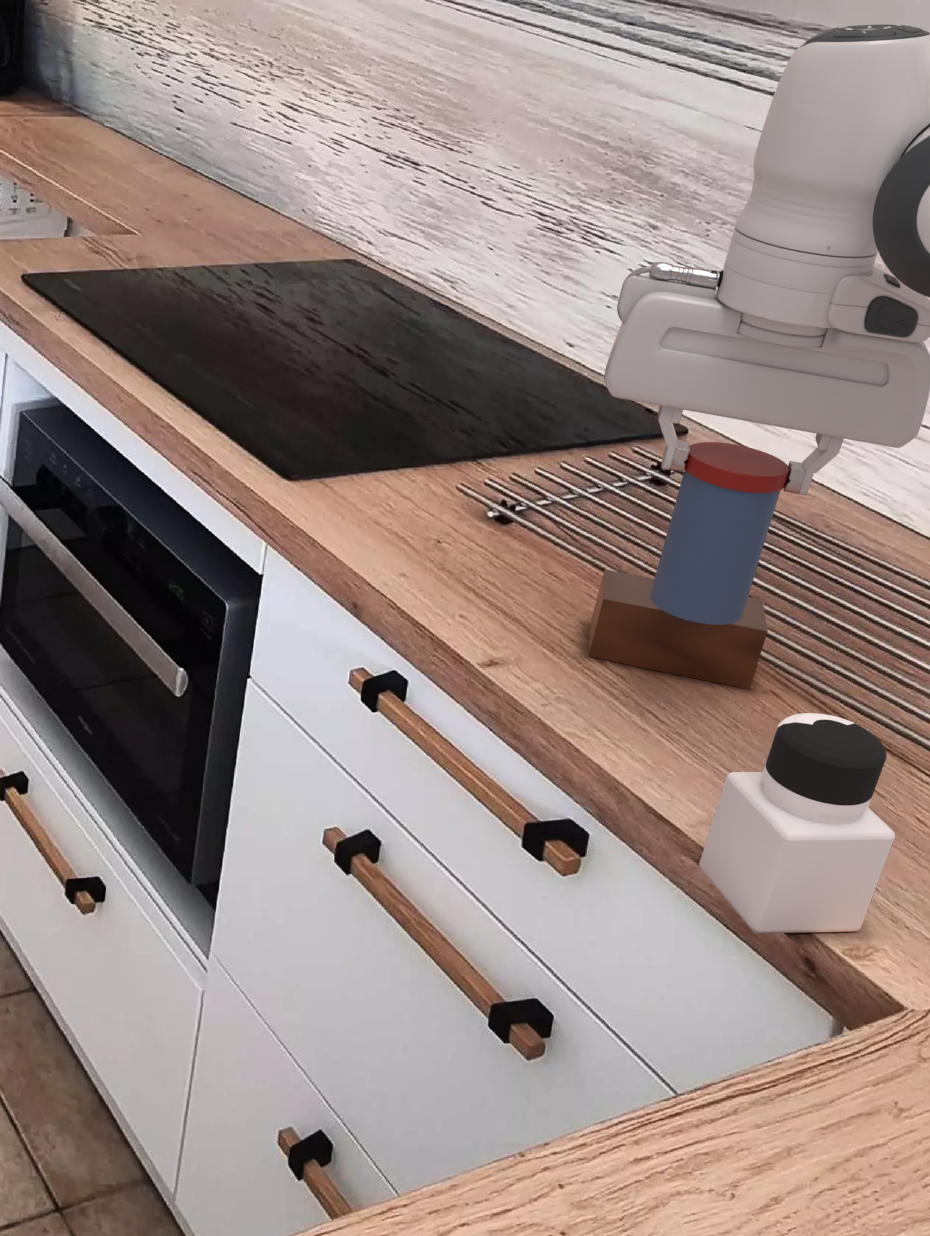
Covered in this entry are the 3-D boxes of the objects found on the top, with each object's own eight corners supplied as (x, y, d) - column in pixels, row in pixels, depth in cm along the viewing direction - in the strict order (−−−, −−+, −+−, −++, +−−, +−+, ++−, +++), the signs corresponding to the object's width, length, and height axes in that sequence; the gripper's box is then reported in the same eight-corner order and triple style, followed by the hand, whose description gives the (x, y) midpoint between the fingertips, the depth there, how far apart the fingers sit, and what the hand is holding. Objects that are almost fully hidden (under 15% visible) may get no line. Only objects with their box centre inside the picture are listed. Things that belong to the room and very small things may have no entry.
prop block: (745, 656, 137) (763, 599, 134) (749, 689, 132) (768, 631, 129) (589, 625, 139) (604, 568, 137) (588, 656, 134) (603, 598, 132)
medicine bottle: (862, 933, 104) (926, 761, 98) (753, 936, 102) (812, 762, 97) (798, 865, 110) (856, 700, 104) (695, 867, 109) (748, 699, 103)
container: (758, 500, 129) (804, 421, 117) (732, 655, 125) (777, 588, 113) (664, 483, 130) (699, 403, 119) (635, 635, 127) (669, 568, 115)
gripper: (629, 267, 113) (578, 465, 119) (964, 322, 109) (893, 524, 115) (629, 246, 118) (581, 437, 125) (948, 298, 114) (881, 492, 120)
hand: (733, 479), depth 120 cm, fingers closed on container, 7 cm apart
